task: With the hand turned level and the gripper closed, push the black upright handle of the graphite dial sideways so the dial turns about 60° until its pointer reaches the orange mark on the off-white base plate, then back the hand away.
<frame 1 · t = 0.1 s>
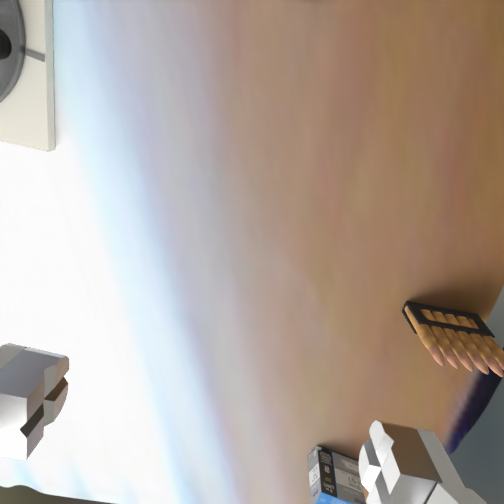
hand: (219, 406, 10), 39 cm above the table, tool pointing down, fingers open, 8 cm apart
label tape box: (332, 457, 68), on the table
ammunition clip: (438, 312, 53), on the table
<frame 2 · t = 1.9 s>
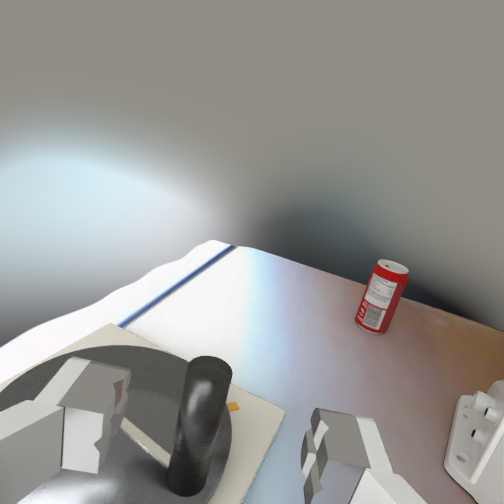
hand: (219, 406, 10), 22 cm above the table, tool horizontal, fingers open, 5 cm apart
soda can: (369, 327, 64), on the table
dial: (120, 378, 29), point 8 cm above the table, hinge at 0.0°
dial base: (112, 446, 32), on the table
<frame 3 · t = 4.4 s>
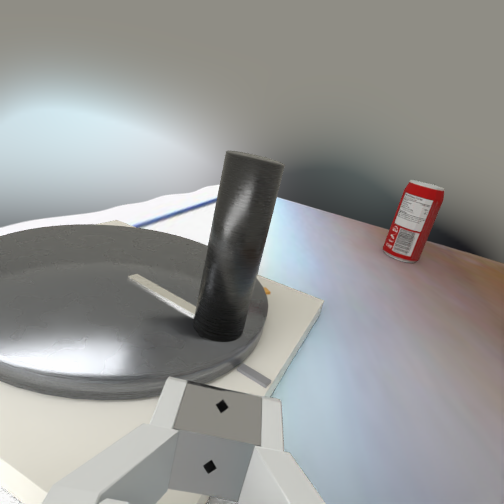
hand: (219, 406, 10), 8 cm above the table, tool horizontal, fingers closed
soda can: (398, 257, 58), on the table
dial: (133, 216, 24), point 8 cm above the table, hinge at 0.0°
dial base: (122, 315, 26), on the table
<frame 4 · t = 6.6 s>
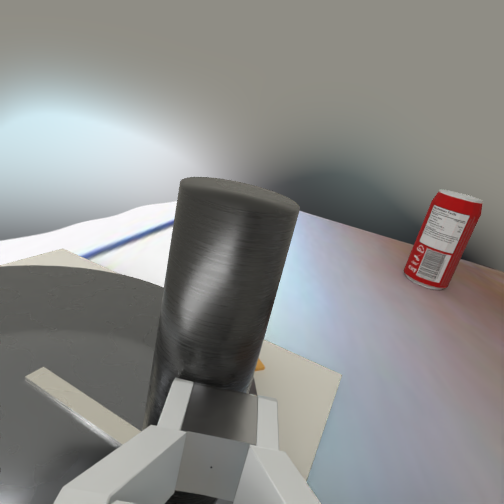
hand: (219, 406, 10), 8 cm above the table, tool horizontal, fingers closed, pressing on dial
soda can: (423, 282, 48), on the table
dial: (26, 280, 14), point 8 cm above the table, hinge at 6.1°, touching gripper
dial base: (26, 428, 16), on the table
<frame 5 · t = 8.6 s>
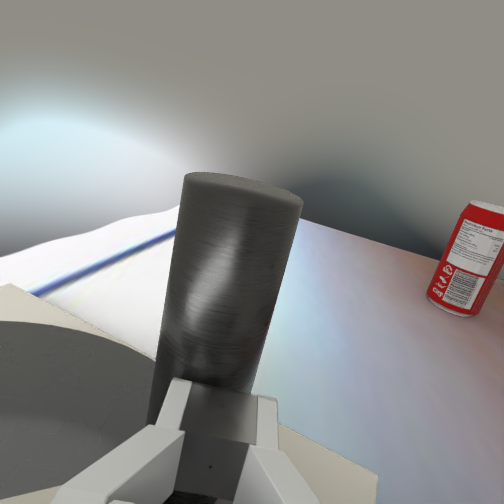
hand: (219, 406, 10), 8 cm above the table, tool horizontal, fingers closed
soda can: (449, 307, 42), on the table
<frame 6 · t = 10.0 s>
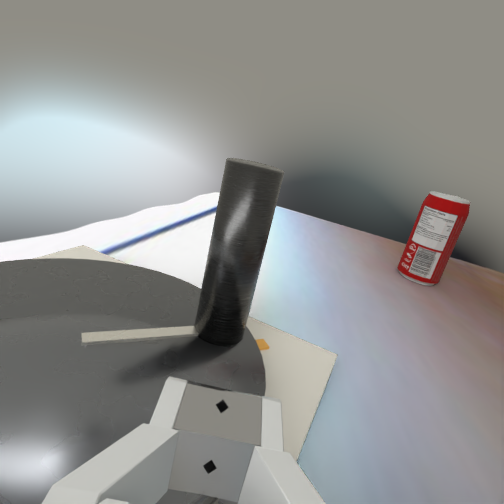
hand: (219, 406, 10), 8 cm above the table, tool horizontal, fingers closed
soda can: (415, 278, 51), on the table
dial: (75, 264, 17), point 8 cm above the table, hinge at 57.7°
dial base: (67, 393, 19), on the table
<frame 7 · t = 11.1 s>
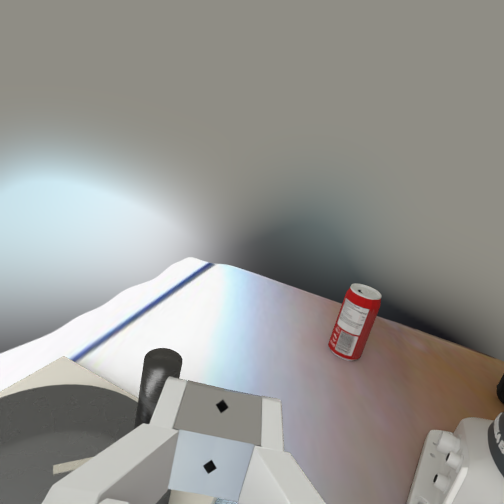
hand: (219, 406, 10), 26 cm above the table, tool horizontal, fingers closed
soda can: (343, 352, 62), on the table
dial: (47, 432, 28), point 8 cm above the table, hinge at 57.7°
dial base: (44, 501, 30), on the table
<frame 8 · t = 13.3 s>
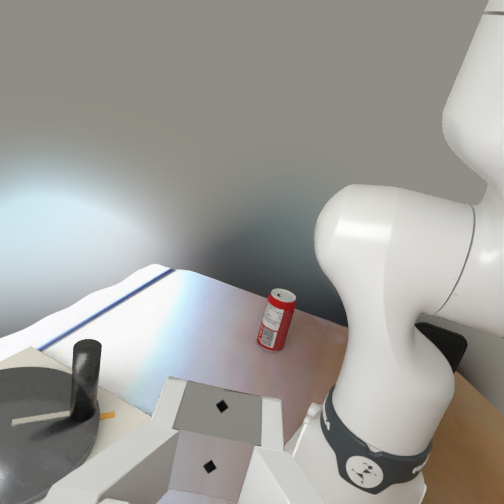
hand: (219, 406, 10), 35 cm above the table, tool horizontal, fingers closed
soda can: (269, 345, 75), on the table
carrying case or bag: (409, 392, 71), on the table
dial: (6, 395, 41), point 8 cm above the table, hinge at 57.7°
dial base: (7, 445, 43), on the table
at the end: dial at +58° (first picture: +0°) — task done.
